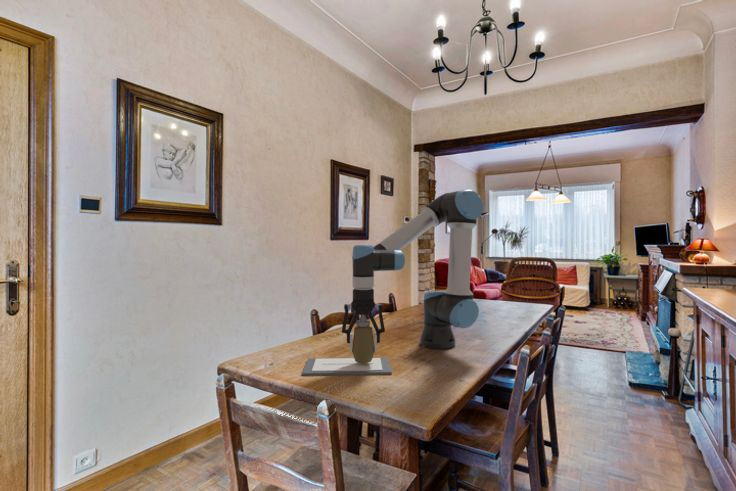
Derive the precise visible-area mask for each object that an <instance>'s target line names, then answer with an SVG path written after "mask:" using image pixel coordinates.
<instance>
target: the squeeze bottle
mask: <svg viewBox="0 0 736 491" xmlns="http://www.w3.org/2000/svg"><path fill="white" fill-rule="evenodd" d="M359 316H360V318H359V319H358V320H356V326H354V327H353V337H352V356H353V358H354V359H355V361H356V362H358V363H368V362H371V361H372V358H373V357H374V354H375V351H374V333H373V331H374V330H373V327H372V326H371V325H370V324H371V323H370V322H371V320H369V319H368V317H367V315H364V314H363V315H359Z"/></svg>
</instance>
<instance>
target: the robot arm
mask: <svg viewBox="0 0 736 491" xmlns="http://www.w3.org/2000/svg"><path fill="white" fill-rule="evenodd" d="M483 212H484V201H483V199H482V197H481V196H480V194H479V193H477V191H475V190H473V189H472V190H471V189H460V190H457V191H452V192H446V193H443V194H441V195H439V196H437V197H436V198H434V199H433V200H432V201H431V202H430V203H429V202H428V204H426V205H425V206H424V207H422V209H421V212H420V213H418V214H417V215H415V216H414V217H413V218H412V219H410V220H409V221H407V222H406V223H405V224H404V225H402V226H400V227H399V228H397V229H396V230H395V231H393V233H391V234H389V235H388V236H387V237H386V238H384V239H383V240H381V241H380V242H379V243H377V244H376V245H372V244H356V245H354V246H353V247H352V248H353V249H352V257H351V258H352V288H353V289H352V301H351V303H348V304H346V303H345V304H344V306H343V308H344V314H343V315H344V316H343V322H342V326H341V327H342V328H341V333H343V334H346V343H347V344H349V348H350V349H349V353H350V354H353V352H352V348H353V333H352V330H353V329H354V327H355V326H354V325H355V323H356V322H357V318H358V316H361V315H363V314H364V315H366V316H368V317H369V319H370V322H371V324H372V326H373V329H374V330H375V332H374V333H373V340H374V351H375V352H374V354H377V353H378V345H377V344H380V342H381V340H380V339H381V334H384V333H385V332H386V328H385V323H384V322H385V321H384V318H383V312H382V311H383V304H382V303H375V301H374V300H375V290H374V289H373V288H374V287H375V282H374V281H375V277H374V276H375V272H383V271H385V272H386V271H387V272H388V271H389V272H390V271H393V272H394V271H400V270H402V269H403V268H404V267H405V264H406V256H405V254H404V252H403V251H402V249H405V247H407V246H408V245H410V244H411V243H412V242H414V241H415V240H416V239H417V238H419V237H420V236H422V235H423V234H425V233H426V232H427V231H429V230H430V229H431V228H433V227H434V228H435V227H438V226H439V225H440V224H442V223H445V222H446V225H447V226H448V228H450V230H449V247H448V248H449V249H448V250H449V251H448V270H447V271H448V273H447V288H446V289H445V290H431V291H430V290H429V291H426V292H425V293H424V295H423V300H422V301H423V328H422V331H421V333H420V337H419V345H421V346H422V347H424V348H429V349H437V350H439V349H440V350H441V349H442V350H444V349H445V350H446V349H450V348H454V347H455V346H456V338H455V334H454V332H453V327H454V328H459V329H467V328H470V327H471V326H473V324H474V323H476V321H477V320H478V318H479V305H478V304H477V302H475V300H474V293H473V292H472V291H471V287H470V286H471V285H470V284H471V283H470V282H471V268H472V267H471V265H472V244H473V243H472V242H473V229H474V228H475V227H476V226H477V221H478V219H479V218H480V217H481V215H482V214H483ZM351 308H352V309H353V310H354V313H353V317H352V318H351V321H350V324H349V325H348V328H347V323H348V316H349V311H350V310H351ZM374 308H375V309H376V310H377V312H378V319H379V320H378V321H379V324H380V328H379V326H378V324H377V322H376V319H375V317H374V314H373V313H372V311H373V309H374ZM452 326H453V327H452Z"/></svg>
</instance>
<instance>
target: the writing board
mask: <svg viewBox="0 0 736 491" xmlns="http://www.w3.org/2000/svg"><path fill="white" fill-rule="evenodd" d="M392 373H393V371H392V368H391V365H390V360H389V357H388V356H387V357H385V356H383V357H379V356H378V357H374V356H373V358H372V361H371V362H368V363H358V362H356V361H355V359H354V357H317V358H316V357H312V358H311V357H309V358H307V360H306V363H305V366H304V368H303V370H302V373H301V375H302V376H308V377H309V376H362V375H363V376H365V375H366V376H372V375H380V376H381V375H384V376H385V375H392Z"/></svg>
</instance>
